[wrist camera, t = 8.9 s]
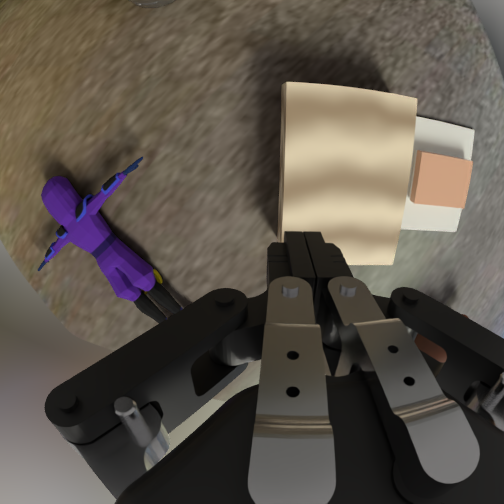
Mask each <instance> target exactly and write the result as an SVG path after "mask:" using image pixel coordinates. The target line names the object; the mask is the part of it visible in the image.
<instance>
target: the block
mask: <svg viewBox="0 0 504 504" xmlns="http://www.w3.org/2000/svg"><path fill="white" fill-rule="evenodd" d="M416 111H417V98H412V97H407V96H402V95H397V94H392V93H386V92H380V91H374V90H368V89H361V88H353V87H345V86H336V85H326V84H315V83H301V82H285V83H284V84H282V91H281V144H280V180H279V209H278V234H277V239H278V242H284V231H302V232H303V231H320V232H321V234H322V236H323V238H324V241H325V243H333V244H335V245H336V246H337V247H338V248H340V250H341V252H342V254H343V257H344V258H345V260H346V263H347V264H348V265H393V261H394V257H395V252H396V248H397V243H398V239H399V234H400V229H401V224H402V219H403V214H404V208H405V202H406V196H407V190H408V184H409V177H410V170H411V162H412V154H413V145H414V136H415V125H416Z"/></svg>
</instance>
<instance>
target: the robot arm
mask: <svg viewBox="0 0 504 504" xmlns="http://www.w3.org/2000/svg"><path fill="white" fill-rule="evenodd" d="M129 1H131V2H132V3H134V4H135V5H137V6H140V7H144V8H156V7H161V6H165V5H167V4H169V3H172V2H173V1H175V0H129ZM417 333H419V334H420V335H422V336H423V337H425V338H427V339H428V340H430V341H432V342H433V343H435V344H437V345H438V346H440V347H442V348H443V349H444V350H445V352H446V354H447V359H446V361H445V362H439V361H437V360H436V359H434V358H433V357H431V356H429V355H428V354H426V353H425V352H423V351H421V350H420V349H418V347H417V346H416V344H415V342H414V340H415V338H416V336H417ZM260 359H261V370H260V380H259V384H257V385H254V386H251V387H249V388H247V389H244V390H242V391H241V392H239V393H237V394H236V395H234V396H233V397H231V398H230V399H229V400H228V401H226V402H225V403H224V404H223V405H222V406H221V407H220V408H219V409H218V410H217V411H216V412H215V413H214V414H212V415H211V416H210V417H209V418H208V419H207V420H206V421H205V422H204V423H203V424H202V425H201V426H199V427H198V428H197V429H196V430H195V431H194V432H193V433H192V434H190V435H189V436H188V437H187V438H186V439H185V440H184V441H183V442H181V443H180V444H179V445H178V446H177V447H176V448H174V449H173V450H172V451H171V452H170V453H169V454H168V455H166V456H165V457H164V458H163V459H162V460H160V459H161V458H162V457H163V456H164V455H165V454H166V452H167V451H168V449H169V445H170V438H169V435H168V434H169V433H170V432H171V431H172V430H173V429H175V428H176V427H177V426H179V425H180V424H181V423H182V422H184V421H185V420H186V419H187V418H188V417H190V416H191V415H192V414H194V413H195V412H196V411H197V410H199V409H200V408H201V407H202V406H203V405H205V404H206V403H207V402H208V401H209V400H211V399H212V398H213V397H214V396H215V395H217V394H218V393H219V392H220V391H221V390H222V389H224V388H225V387H226V386H227V385H228V384H229V383H230V382H232V381H233V380H234V379H235V378H236V377H237V376H238V375H240V374H241V373H242V372H243V371H244V370H245V369H246V367H247V366H248V362H252V361H256V360H260ZM45 413H46V416H47V417H48V419H49V420H50V421H51V422H52V424H53V425H54V426H55V427H56V428H57V429H58V431H59V432H60V434H61V435H62V437H63V438H64V439H65V440H66V441H67V442H68V444H69V445H70V446H71V447H72V448H73V449H74V450H75V451H76V452H77V453H78V454H79V455H80V456H81V457H82V458H84V459H85V460H86V462H87V463H88V465H89V466H90V467H91V468H92V470H93V471H94V472H95V474H96V475H97V476H98V478H99V479H100V480H101V481H102V483H103V484H104V485H105V486H106V488H107V489H108V490H109V491H110V492H111V493H112V495H113V496H114V497H115V498H116V499H117V500H116V502H115V504H504V339H503V338H501V337H500V336H498V335H496V334H495V333H493V332H491V331H489V330H488V329H486V328H484V327H483V326H481V325H479V324H477V323H476V322H474V321H472V320H470V319H469V318H467V317H465V316H463V315H461V314H460V313H458V312H456V311H454V310H453V309H451V308H449V307H447V306H445V305H443V304H442V303H440V302H438V301H436V300H434V299H433V298H431V297H429V296H427V295H425V294H423V293H421V292H420V291H418V290H415V289H412V288H408V287H400V288H397V289H395V290H393V291H392V293H391V297H390V298H386V297H381V296H376V295H372V294H371V293H370V291H369V289H368V288H367V286H366V285H365V284H364V283H363V282H362V281H360V280H358V279H356V278H354V277H353V275H352V273H351V271H350V269H349V267H348V264H347V263H346V260H345V258H344V257H343V254H342V252H341V250H340V248H338V247H337V246H336V245H335V244H333V243H325V241H324V238H323V236H322V234H321V232H320V231H303V232H302V231H284V242H272V243H271V245H270V246H269V247H268V248H267V290H266V291H265V292H264V293H263V294H261V295H259V296H256V297H252V298H247V297H246V296H245V294H244V293H242V292H241V291H238V290H236V289H231V288H221V289H216V290H213V291H211V292H209V293H207V294H206V295H204V296H203V297H201V298H199V299H198V300H196V301H195V302H193V303H192V304H190V305H188V306H187V307H185V308H184V309H182V310H180V311H179V312H177V313H176V314H174V315H172V316H171V317H169V318H168V319H166V320H164V321H163V322H161V323H160V324H158V325H156V326H155V327H153V328H152V329H150V330H148V331H147V332H145V333H143V334H142V335H140V336H139V337H137V338H135V339H134V340H132V341H131V342H129V343H127V344H126V345H124V346H122V347H121V348H119V349H118V350H116V351H114V352H113V353H111V354H110V355H108V356H106V357H105V358H103V359H101V360H100V361H98V362H97V363H95V364H93V365H92V366H90V367H88V368H87V369H85V370H83V371H82V372H80V373H78V374H77V375H75V376H73V377H72V378H71V379H69V380H67V381H65V382H64V383H62V384H60V385H59V386H57V387H56V388H54V389H53V390H52V391H51V393H50V394H49V395H48V397H47V399H46V402H45ZM159 460H160V461H159Z"/></svg>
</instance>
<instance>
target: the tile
mask: <svg viewBox="0 0 504 504" xmlns="http://www.w3.org/2000/svg"><path fill="white" fill-rule="evenodd" d="M472 165H473V161H470V160H468V159H464V158H459V157H454V156H449V155H444V154H438V153H433V152H427V151H421V150H416V152H415V160H414V167H413V174H412V181H411V187H410V193H409V199H410V201H411V202H413V203H414V204H424V205H434V206H444V207H454V208H463V209H464V207H465V202H466V198H467V193H468V188H469V183H470V177H471V172H472Z"/></svg>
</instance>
